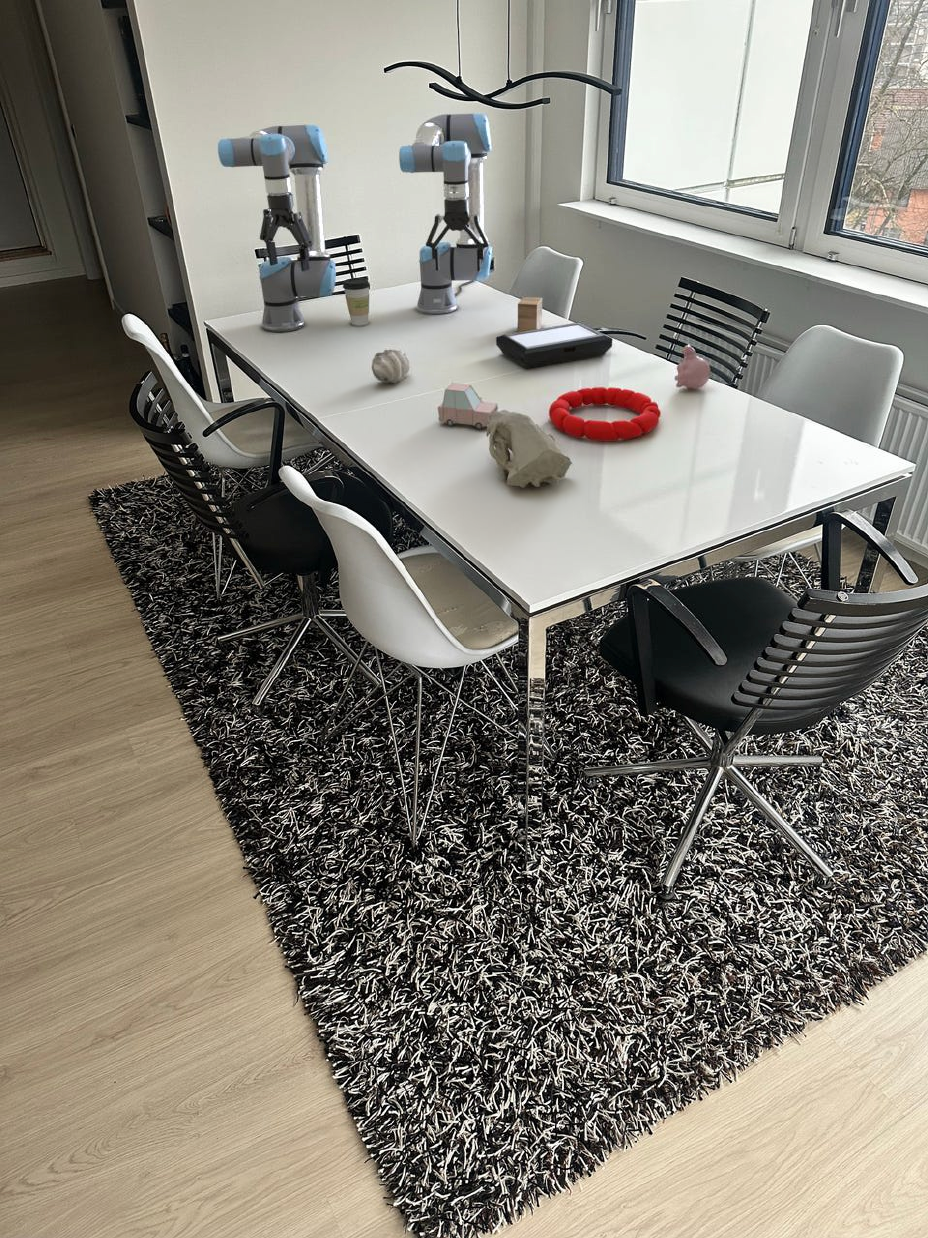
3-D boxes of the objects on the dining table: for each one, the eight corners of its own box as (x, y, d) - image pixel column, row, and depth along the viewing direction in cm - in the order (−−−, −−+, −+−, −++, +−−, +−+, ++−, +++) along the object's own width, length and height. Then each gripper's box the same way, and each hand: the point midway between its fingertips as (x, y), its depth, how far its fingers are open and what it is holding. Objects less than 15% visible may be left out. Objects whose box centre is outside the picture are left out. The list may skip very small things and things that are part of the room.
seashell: (364, 381, 275) (361, 349, 270) (407, 372, 281) (405, 341, 275) (377, 391, 268) (374, 358, 262) (421, 382, 273) (420, 349, 268)
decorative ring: (589, 435, 224) (684, 402, 234) (527, 398, 247) (617, 369, 256) (589, 461, 229) (683, 427, 238) (529, 422, 251) (617, 393, 260)
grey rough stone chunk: (496, 517, 219) (521, 479, 201) (463, 429, 225) (484, 384, 207) (557, 503, 225) (586, 465, 206) (523, 417, 231) (549, 373, 212)
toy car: (488, 432, 240) (488, 396, 234) (436, 426, 244) (434, 390, 239) (499, 419, 247) (499, 384, 241) (448, 413, 252) (447, 379, 246)
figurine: (665, 387, 264) (669, 347, 257) (693, 380, 268) (698, 340, 261) (686, 396, 257) (690, 355, 250) (714, 388, 262) (720, 348, 255)
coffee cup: (372, 326, 323) (368, 283, 314) (345, 327, 323) (340, 284, 315) (374, 318, 331) (371, 276, 322) (348, 319, 331) (344, 277, 323)
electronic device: (524, 351, 275) (496, 334, 291) (524, 371, 279) (496, 353, 294) (612, 335, 286) (581, 320, 301) (611, 355, 289) (580, 338, 304)
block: (536, 333, 311) (537, 304, 305) (517, 332, 313) (517, 303, 307) (541, 326, 318) (542, 297, 312) (523, 325, 320) (523, 296, 314)
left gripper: (318, 194, 262) (327, 269, 274) (258, 187, 273) (269, 259, 286) (301, 199, 257) (310, 275, 269) (240, 191, 269) (252, 264, 281)
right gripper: (414, 200, 274) (418, 271, 286) (494, 200, 270) (494, 273, 282) (419, 195, 280) (423, 266, 292) (497, 195, 276) (498, 267, 288)
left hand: (289, 267), depth 278 cm, fingers open, 13 cm apart
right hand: (458, 269), depth 287 cm, fingers open, 13 cm apart
